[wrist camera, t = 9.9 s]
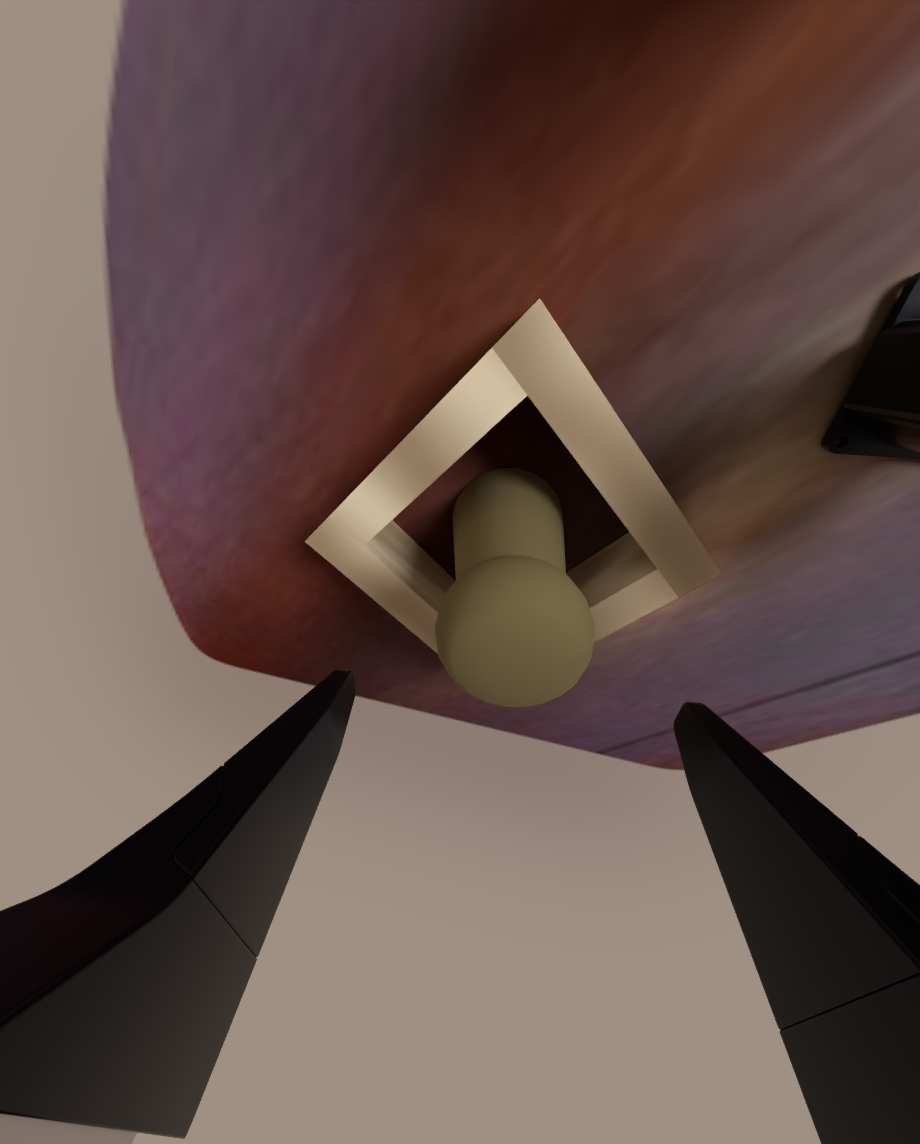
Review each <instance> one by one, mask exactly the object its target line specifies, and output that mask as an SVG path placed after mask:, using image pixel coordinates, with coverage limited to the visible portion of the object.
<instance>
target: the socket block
mask: <svg viewBox="0 0 920 1144" xmlns="http://www.w3.org/2000/svg"><path fill="white" fill-rule="evenodd" d="M527 395H528V397H529V398H530V399H531V401H532V402H533V403H534V405H535V406H536V407H537V409H538V410H539V411H540V413H541V414H542V415H543V417H544V418H545V419H546V421H547V422H548V423H549V425H550V426H551V427H552V429H553V430H554V431H555V433H556V434H557V435H558V437H559V438H560V439H561V441H562V442H563V443H564V445H565V446H566V448H567V449H568V450H569V452H570V453H571V454H572V456H573V457H574V458H575V460H576V461H577V462H578V464H579V465H580V466H581V468H582V469H583V470H584V472H585V473H586V474H587V476H588V477H589V478H590V480H591V481H592V482H593V484H594V485H595V486H596V488H597V489H598V490H599V492H600V493H601V494H602V496H603V497H604V498H605V500H606V501H607V502H608V504H609V505H610V506H611V508H612V509H613V510H614V512H615V513H616V514H617V516H618V517H619V518H620V520H621V521H622V522H623V524H624V525H625V526H626V528H627V529H628V530H629V533H627V534H625V535H624V536H622V537H621V538H619V539H618V540H616V541H615V542H613V543H611V544H610V545H608V546H607V547H605V548H604V549H602V550H601V551H599V552H597V553H596V554H594V555H593V556H591V557H590V558H588V559H586V560H585V561H583V562H582V563H580V564H579V565H577V566H576V567H574V568H572V569H571V570H569V571H568V572H566V575H567V576H568V577H569V578H570V579H571V580H572V581H573V582H574V584H575V585H576V586H577V587H578V589H579V590H580V591H581V592H582V594H583V595H584V596H585V598H586V600H587V603H588V606H589V608H590V612H591V615H592V619H593V623H594V626H595V640H594V642H596V641H598V640H600V639H602V638H604V637H605V636H607V635H609V634H611V633H613V632H615V631H617V630H619V629H621V628H622V627H624V626H626V625H628V624H630V623H632V622H634V621H636V620H637V619H639V618H641V617H643V616H645V615H647V614H649V613H651V612H653V611H654V610H656V609H658V608H660V607H662V606H664V605H666V604H668V603H670V602H671V601H673V600H675V599H677V598H679V597H681V596H683V595H685V594H687V593H688V592H690V591H692V590H694V589H696V588H698V587H700V586H702V585H703V584H705V583H707V582H709V581H711V580H713V579H715V578H717V577H719V576H720V575H722V573H721V571H720V570H719V568H718V567H717V565H716V564H715V562H714V560H713V559H712V557H711V556H710V554H709V553H708V551H707V550H706V548H705V547H704V545H703V544H702V542H701V541H700V539H699V538H698V536H697V535H696V533H695V532H694V530H693V529H692V527H691V526H690V524H689V523H688V521H687V520H686V518H685V517H684V515H683V514H682V512H681V511H680V509H679V508H678V506H677V505H676V503H675V502H674V500H673V499H672V497H671V496H670V494H669V493H668V491H667V490H666V488H665V487H664V485H663V484H662V482H661V481H660V479H659V478H658V476H657V475H656V473H655V472H654V470H653V469H652V467H651V466H650V464H649V462H648V461H647V459H646V458H645V456H644V455H643V453H642V452H641V450H640V449H639V447H638V446H637V444H636V443H635V441H634V440H633V438H632V437H631V435H630V434H629V432H628V431H627V429H626V428H625V426H624V425H623V423H622V422H621V420H620V419H619V417H618V416H617V414H616V413H615V411H614V410H613V408H612V407H611V405H610V404H609V402H608V401H607V399H606V398H605V396H604V395H603V393H602V392H601V390H600V389H599V387H598V386H597V384H596V383H595V381H594V380H593V378H592V377H591V375H590V374H589V372H588V371H587V369H586V367H585V366H584V364H583V363H582V361H581V360H580V358H579V357H578V355H577V354H576V352H575V351H574V349H573V348H572V346H571V345H570V343H569V342H568V340H567V339H566V337H565V336H564V334H563V333H562V331H561V330H560V328H559V327H558V325H557V324H556V322H555V321H554V319H553V318H552V316H551V315H550V313H549V312H548V310H547V309H546V307H545V306H544V304H543V303H542V301H541V300H540V298H539V299H538V301H537V302H536V303H535V304H534V305H533V306H532V307H531V308H530V309H529V310H528V311H527V312H526V313H525V314H524V315H523V316H522V317H521V318H520V319H519V320H518V321H517V322H516V323H515V324H514V325H513V326H512V327H511V328H510V329H509V331H508V332H507V333H506V334H505V335H504V336H503V337H502V338H501V339H500V340H499V341H498V342H497V343H496V344H495V345H494V346H493V347H492V348H491V349H490V350H489V351H488V352H487V353H486V354H485V355H484V356H483V357H482V358H481V360H480V361H479V362H478V363H477V364H476V365H475V366H474V367H473V368H472V369H471V370H470V371H469V372H468V373H467V374H466V375H465V376H464V377H463V378H462V379H461V380H460V381H459V382H458V383H457V384H456V385H455V386H454V387H453V389H452V390H451V391H450V392H449V393H448V394H447V395H446V396H445V397H444V398H443V399H442V400H441V401H440V402H439V403H438V404H437V405H436V406H435V407H434V408H433V409H432V410H431V411H430V412H429V413H428V414H427V415H426V416H425V418H424V419H423V420H422V421H421V422H420V423H419V424H418V425H417V426H416V427H415V428H414V429H413V430H412V431H411V432H410V433H409V434H408V435H407V436H406V437H405V438H404V439H403V440H402V441H401V442H400V443H399V444H398V445H397V447H396V448H395V449H394V450H393V451H392V452H391V453H390V454H389V455H388V456H387V457H386V458H385V459H384V460H383V461H382V462H381V463H380V464H379V465H378V466H377V467H376V468H375V469H374V470H373V471H372V472H371V473H370V474H369V475H368V477H367V478H366V479H365V480H364V481H363V482H362V483H361V484H360V485H359V486H358V487H357V488H356V489H355V490H354V491H353V492H352V493H351V494H350V495H349V496H348V497H347V498H346V499H345V500H344V501H343V502H342V503H341V504H340V506H339V507H338V508H337V509H336V510H335V511H334V512H333V513H332V514H331V515H330V516H329V517H328V518H327V519H326V520H325V521H324V522H323V523H322V524H321V525H320V526H319V527H318V528H317V529H316V530H315V531H314V532H313V533H312V535H311V536H310V537H309V538H308V539H307V540H306V541H305V542H306V543H307V544H308V545H309V546H311V547H312V548H313V549H314V550H315V551H317V552H318V553H319V554H320V555H321V556H323V557H324V558H325V559H326V560H327V561H328V562H330V563H331V564H332V565H333V566H334V567H336V568H337V569H338V570H339V571H340V572H341V573H343V574H344V575H345V576H346V577H347V578H349V579H350V580H351V581H352V582H353V583H354V584H356V585H357V586H358V587H359V588H360V589H362V590H363V591H364V592H365V593H366V594H367V595H369V596H370V597H371V598H372V599H373V600H375V601H376V602H377V603H378V604H379V605H381V606H382V607H383V608H384V609H385V610H386V611H388V612H389V613H390V614H391V615H392V616H394V617H395V618H396V619H397V620H398V621H399V622H401V623H402V624H403V625H404V626H405V627H407V628H408V629H409V630H410V631H411V632H412V633H414V634H415V635H416V636H417V637H418V638H420V639H421V640H422V641H423V642H424V643H426V644H427V645H428V646H429V647H430V648H431V649H433V650H434V651H435V652H436V653H437V654H438V650H437V642H436V635H435V623H436V619H437V616H438V612H439V608H440V605H441V601H442V598H443V596H444V595H445V594H446V592H447V591H448V590H449V588H450V587H451V586H452V584H453V583H454V582H455V580H454V579H453V578H452V577H451V576H450V575H449V574H448V573H447V572H446V571H445V570H444V569H443V568H442V567H441V566H440V565H439V564H437V563H436V562H435V561H434V560H433V559H432V558H431V557H430V556H429V555H428V554H427V553H426V552H425V551H424V550H423V549H422V548H421V547H420V546H419V545H418V544H417V543H416V542H415V541H414V540H413V539H412V538H410V537H409V536H408V535H407V534H406V533H405V532H404V531H403V530H402V529H401V528H400V527H399V526H398V525H397V524H396V523H395V522H394V521H393V520H392V519H394V518H395V517H396V516H397V515H398V514H399V513H400V512H401V511H402V510H403V509H404V508H406V507H407V506H408V505H409V504H410V503H411V502H412V501H413V500H414V499H415V498H416V497H417V496H419V495H420V494H421V493H422V492H423V491H424V490H425V489H426V488H427V487H428V486H429V485H431V484H432V483H433V482H434V481H435V480H436V479H437V478H438V477H439V476H440V475H441V474H443V473H444V472H445V471H446V470H447V469H448V468H449V467H450V466H451V465H452V464H453V463H454V462H456V461H457V460H458V459H459V458H460V457H461V456H462V455H463V454H464V453H465V452H466V451H468V450H469V449H470V448H471V447H472V446H473V445H474V444H475V443H476V442H477V441H478V440H480V439H481V438H482V437H483V436H484V435H485V434H486V433H487V432H488V431H489V430H490V429H491V428H493V427H494V426H495V425H496V424H497V423H498V422H499V421H500V420H501V419H502V418H503V417H505V416H506V415H507V414H508V413H509V412H510V411H511V410H512V409H513V408H514V407H515V406H516V405H518V404H519V403H520V402H521V401H522V400H523V399H524V398H525V397H526V396H527Z"/></svg>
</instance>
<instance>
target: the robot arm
mask: <svg viewBox="0 0 920 1144" xmlns="http://www.w3.org/2000/svg"><path fill="white" fill-rule="evenodd" d="M840 437H841V440H840V442H839V443H838V444H836V445H834V444H835V441H836V440H837V439H838V438H840ZM821 446H822V449H823V450H824V451H828V452H831V453H835V454H850V455H867V456H883V457H900V458H916V459H920V272H919V273H917V274H915V275H914V276H913V277H912V278H911V279H910V280H909V281H908V282H907V284H906V285H905V287H904V289H903V291H902V292H901V294H900V296H899V298H898V300H897V302H896V304H895V305H894V307H893V309H892V311H891V313H890V315H889V317H888V319H887V320H886V322H885V324H884V326H883V328H882V330H881V332H880V333H879V335H878V337H877V339H876V341H875V343H874V345H873V347H872V348H871V350H870V352H869V354H868V356H867V358H866V360H865V361H864V363H863V365H862V367H861V369H860V371H859V373H858V375H857V376H856V378H855V380H854V382H853V384H852V386H851V388H850V389H849V391H848V393H847V395H846V397H845V399H844V401H843V403H842V404H841V406H840V408H839V410H838V412H837V414H836V416H835V417H834V419H833V421H832V423H831V425H830V427H829V429H828V431H827V432H826V434H825V436H824V438H823V440H822V443H821ZM354 698H355V684H354V678H353V672H352V671H351V670H349V669H336V670H334V671H333V672H332V673H331V674H330V675H328V676H327V677H326V678H325V679H324V680H323V681H321V682H320V683H319V684H318V685H317V686H315V687H314V688H313V689H312V690H311V691H309V692H308V693H307V694H306V695H305V696H304V697H302V698H301V699H300V700H299V701H298V702H296V703H295V704H294V705H293V706H292V707H291V708H289V709H288V710H287V711H286V712H285V713H283V714H282V715H281V716H280V717H279V718H277V719H276V720H275V721H274V722H273V723H272V724H270V725H269V726H268V727H267V728H266V729H264V730H263V731H262V732H261V733H260V734H258V735H257V736H256V737H255V738H254V739H252V740H251V741H250V742H249V743H248V744H247V745H245V746H244V747H243V748H242V749H241V750H239V751H238V752H237V753H236V754H235V755H233V756H232V757H231V758H230V759H229V760H228V761H226V762H225V763H224V766H220V767H219V768H218V769H217V770H216V771H214V772H213V773H212V774H211V775H210V776H209V777H207V778H206V779H205V780H204V781H202V782H201V783H200V784H199V785H197V786H196V787H195V788H194V789H192V790H191V791H190V792H189V793H188V794H186V795H185V796H184V797H182V798H181V799H180V800H178V801H177V802H176V803H174V804H173V805H172V806H171V807H169V808H168V809H167V810H165V811H164V812H163V813H161V814H160V815H159V816H157V817H156V818H155V819H153V820H152V821H151V822H149V823H148V824H146V825H145V826H144V827H142V828H141V829H140V830H138V831H137V832H135V833H134V834H133V835H131V836H130V837H128V838H127V839H126V840H124V841H123V842H122V843H120V844H119V845H118V846H116V847H115V848H113V849H112V850H111V851H109V852H108V853H107V854H105V855H104V856H103V857H101V858H100V859H98V860H97V861H96V862H94V863H93V864H91V865H90V866H89V867H87V868H86V869H84V870H83V871H81V872H80V873H78V874H77V875H75V876H74V877H72V878H70V879H69V880H67V881H65V882H64V883H62V884H60V885H58V886H57V887H55V888H53V889H51V890H49V891H47V892H45V893H43V894H41V895H39V896H36V897H34V898H31V899H29V900H26V901H24V902H22V903H19V904H16V905H14V906H11V907H9V908H6V909H4V910H2V911H0V1144H132V1142H133V1140H134V1138H135V1136H136V1134H137V1132H138V1133H145V1134H152V1135H160V1136H167V1137H174V1138H182V1139H184V1138H185V1137H186V1135H187V1133H188V1130H189V1128H190V1126H191V1123H192V1121H193V1118H194V1116H195V1114H196V1111H197V1109H198V1106H199V1104H200V1101H201V1098H202V1096H203V1093H204V1091H205V1088H206V1086H207V1083H208V1081H209V1078H210V1076H211V1073H212V1071H213V1068H214V1066H215V1063H216V1061H217V1058H218V1056H219V1053H220V1051H221V1048H222V1046H223V1043H224V1041H225V1038H226V1036H227V1033H228V1031H229V1028H230V1025H231V1023H232V1021H233V1018H234V1016H235V1013H236V1010H237V1008H238V1006H239V1003H240V1000H241V998H242V995H243V993H244V991H245V988H246V986H247V983H248V980H249V978H250V976H251V973H252V971H253V968H254V966H255V963H256V960H257V958H256V957H258V955H259V953H260V950H261V947H262V945H263V943H264V940H265V938H266V935H267V933H268V930H269V927H270V925H271V923H272V920H273V917H274V915H275V912H276V910H277V907H278V905H279V902H280V900H281V897H282V895H283V892H284V890H285V887H286V885H287V882H288V880H289V877H290V874H291V872H292V870H293V867H294V865H295V862H296V860H297V857H298V855H299V852H300V850H301V847H302V845H303V842H304V840H305V837H306V835H307V832H308V830H309V827H310V825H311V822H312V819H313V817H314V815H315V812H316V810H317V807H318V805H319V802H320V800H321V797H322V795H323V792H324V789H325V787H326V784H327V782H328V780H329V777H330V775H331V772H332V770H333V767H334V764H335V762H336V760H337V757H338V754H339V751H340V748H341V745H342V741H343V738H344V734H345V731H346V727H347V724H348V720H349V716H350V713H351V709H352V706H353V702H354ZM674 732H675V736H676V740H677V744H678V748H679V751H680V755H681V759H682V763H683V767H684V770H685V774H686V778H687V782H688V785H689V788H690V791H691V794H692V797H693V800H694V803H695V805H696V808H697V811H698V813H699V816H700V819H701V821H702V824H703V826H704V829H705V832H706V835H707V837H708V840H709V843H710V845H711V848H712V851H713V854H714V856H715V859H716V862H717V864H718V867H719V870H720V872H721V875H722V877H723V880H724V883H725V885H726V888H727V891H728V894H729V896H730V899H731V902H732V905H733V907H734V910H735V913H736V915H737V918H738V921H739V923H740V926H741V929H742V931H743V934H744V937H745V939H746V942H747V945H748V948H749V950H750V953H751V956H752V958H753V961H754V964H755V966H756V969H757V972H758V974H759V977H760V980H761V982H762V985H763V988H764V990H765V993H766V996H767V999H768V1001H769V1004H770V1007H771V1009H772V1012H773V1014H774V1017H775V1020H776V1023H777V1025H778V1027H779V1029H780V1034H781V1037H782V1040H783V1042H784V1044H785V1047H786V1050H787V1053H788V1055H789V1058H790V1061H791V1064H792V1066H793V1069H794V1072H795V1074H796V1077H797V1080H798V1082H799V1085H800V1088H801V1090H802V1093H803V1096H804V1099H805V1101H806V1104H807V1107H808V1109H809V1112H810V1114H811V1117H812V1120H813V1123H814V1125H815V1128H816V1131H817V1133H818V1136H819V1139H820V1142H821V1144H920V885H919V884H918V883H917V882H915V881H914V880H913V879H912V878H910V877H909V876H908V875H907V874H906V873H904V872H903V871H902V870H901V869H899V868H898V867H897V866H896V865H895V864H893V863H892V862H891V861H890V860H889V859H887V858H886V857H885V856H883V855H882V854H881V853H880V852H879V851H878V850H876V849H875V848H874V847H873V846H872V845H871V844H869V843H868V842H867V841H866V840H865V839H863V838H862V837H860V836H858V834H857V833H856V832H855V831H854V830H853V829H851V828H850V827H849V826H848V825H847V824H845V823H844V822H843V821H842V820H841V819H840V818H838V817H837V816H836V815H834V814H833V813H832V812H831V811H830V810H829V809H828V808H827V807H825V806H824V805H823V804H822V803H820V802H819V801H818V800H817V799H816V798H815V797H814V796H812V795H811V794H810V793H809V792H808V791H806V790H805V789H804V788H803V787H802V786H800V785H799V784H798V783H797V782H796V781H794V780H793V779H792V778H791V777H790V776H789V775H787V774H786V773H785V772H784V771H783V770H782V769H780V768H779V767H778V766H777V765H775V764H774V763H773V762H772V761H771V760H770V759H768V758H767V757H766V756H765V755H764V754H763V753H761V752H760V751H759V750H758V749H757V748H755V747H754V746H753V745H752V744H751V743H749V742H748V741H747V740H746V739H745V738H744V737H742V736H741V735H740V734H739V733H738V732H736V731H735V730H734V729H733V728H732V727H731V726H729V725H728V724H727V723H726V722H725V721H723V720H722V719H721V718H720V717H719V716H717V715H716V714H715V713H714V712H713V711H712V710H710V709H709V708H708V707H707V706H705V705H704V704H702V703H697V702H685V703H684V704H683V705H682V707H681V709H680V711H679V713H678V715H677V716H676V718H675V720H674Z"/></svg>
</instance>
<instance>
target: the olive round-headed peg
mask: <svg viewBox="0 0 920 1144" xmlns="http://www.w3.org/2000/svg"><path fill="white" fill-rule="evenodd" d="M452 518H453V536H454V554H455V573H456V581H455V582H454V583H453V584H452V586H451V587H450V588H449V590H448V591H447V592H446V594H445V595H444V596H443V598H442V601H441V605H440V608H439V612H438V616H437V619H436V623H435V635H436V642H437V650H438V657H439V659H440V660H441V662H442V664H443V666H444V668H445V669H446V671H447V673H448V674H449V676H450V677H451V679H452V680H453V681H454V682H455V683H456V684H457V685H458V686H459V687H460V688H461V689H462V690H464V691H465V692H466V693H467V694H469V695H471V696H473V697H475V698H477V699H479V700H481V701H483V702H487V703H491V704H495V705H499V706H504V707H527V706H532V705H538V704H543V703H546V702H548V701H550V700H553V699H555V698H557V697H559V696H562V695H563V694H564V693H566V692H567V691H568V690H569V689H571V688H572V687H573V686H574V685H575V684H577V682H578V680H579V679H580V677H581V676H582V674H583V672H584V671H585V669H586V667H587V666H588V664H589V662H590V661H591V659H592V653H593V646H594V640H595V626H594V623H593V619H592V615H591V612H590V608H589V606H588V603H587V600H586V598H585V596H584V595H583V594H582V592H581V591H580V590H579V589H578V587H577V586H576V585H575V584H574V582H573V581H572V580H571V579H570V578H569V577H568V576H567V575H566V568H565V548H564V528H563V512H562V508H561V504H560V501H559V497H558V495H557V494H556V493H555V491H554V490H553V488H552V487H551V486H550V484H549V483H548V482H547V481H545V480H544V479H542V478H541V477H539V476H538V475H536V474H535V473H533V472H530V471H526V470H523V469H519V468H497V469H494V470H492V471H489V472H486V473H483V474H481V475H479V476H478V477H476V478H475V479H474V480H473V481H471V482H470V483H469V484H468V485H466V486H465V488H464V489H463V491H462V492H461V494H460V495H459V497H458V499H457V500H456V504H455V508H454V512H453V515H452Z"/></svg>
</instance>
